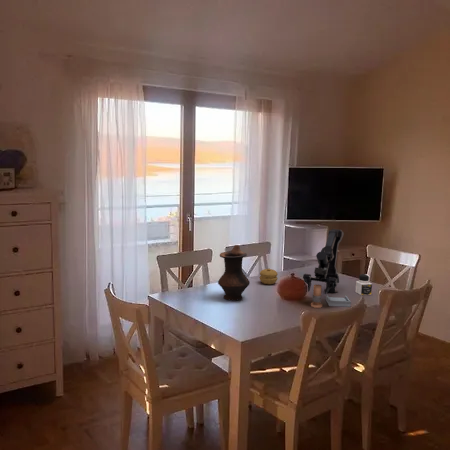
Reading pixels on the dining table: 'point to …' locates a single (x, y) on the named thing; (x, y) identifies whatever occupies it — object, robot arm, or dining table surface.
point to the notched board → (338, 301)
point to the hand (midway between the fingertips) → (316, 292)
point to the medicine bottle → (363, 285)
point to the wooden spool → (317, 296)
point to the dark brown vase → (233, 274)
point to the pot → (268, 276)
